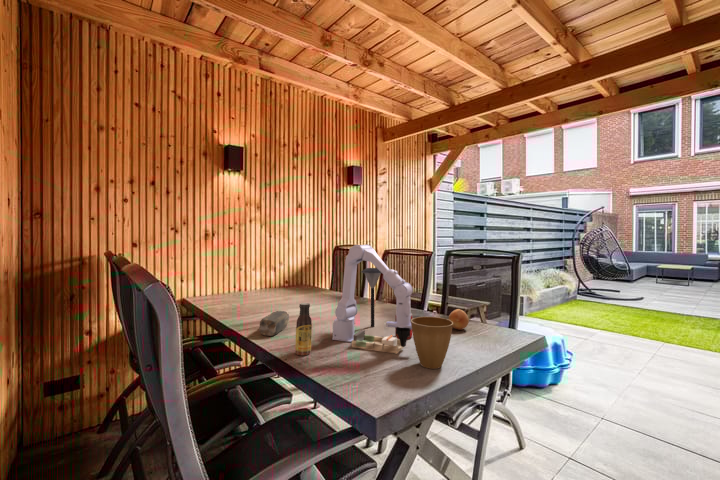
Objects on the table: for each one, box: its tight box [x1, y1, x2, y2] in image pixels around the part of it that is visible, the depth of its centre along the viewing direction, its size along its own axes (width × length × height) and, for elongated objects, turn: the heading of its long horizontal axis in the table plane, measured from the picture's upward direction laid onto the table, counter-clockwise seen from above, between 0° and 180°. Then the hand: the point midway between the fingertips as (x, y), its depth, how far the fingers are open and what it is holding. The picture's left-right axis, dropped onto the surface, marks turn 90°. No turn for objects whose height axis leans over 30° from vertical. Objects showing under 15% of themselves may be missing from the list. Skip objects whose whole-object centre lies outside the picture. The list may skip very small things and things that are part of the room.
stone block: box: [259, 310, 290, 337], centre depth 166 cm, size 20×9×10 cm
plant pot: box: [411, 316, 453, 370], centre depth 122 cm, size 15×15×16 cm
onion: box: [447, 308, 470, 331], centre depth 169 cm, size 10×10×10 cm
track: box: [351, 329, 404, 355], centre depth 142 cm, size 20×10×5 cm, turn 66°
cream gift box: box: [382, 334, 397, 346], centre depth 140 cm, size 5×6×4 cm
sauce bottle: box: [294, 302, 313, 357], centre depth 134 cm, size 6×6×20 cm
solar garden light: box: [360, 267, 382, 328], centre depth 174 cm, size 12×12×30 cm
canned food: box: [394, 312, 413, 340], centre depth 155 cm, size 8×8×11 cm
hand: (403, 346), depth 138 cm, fingers closed
